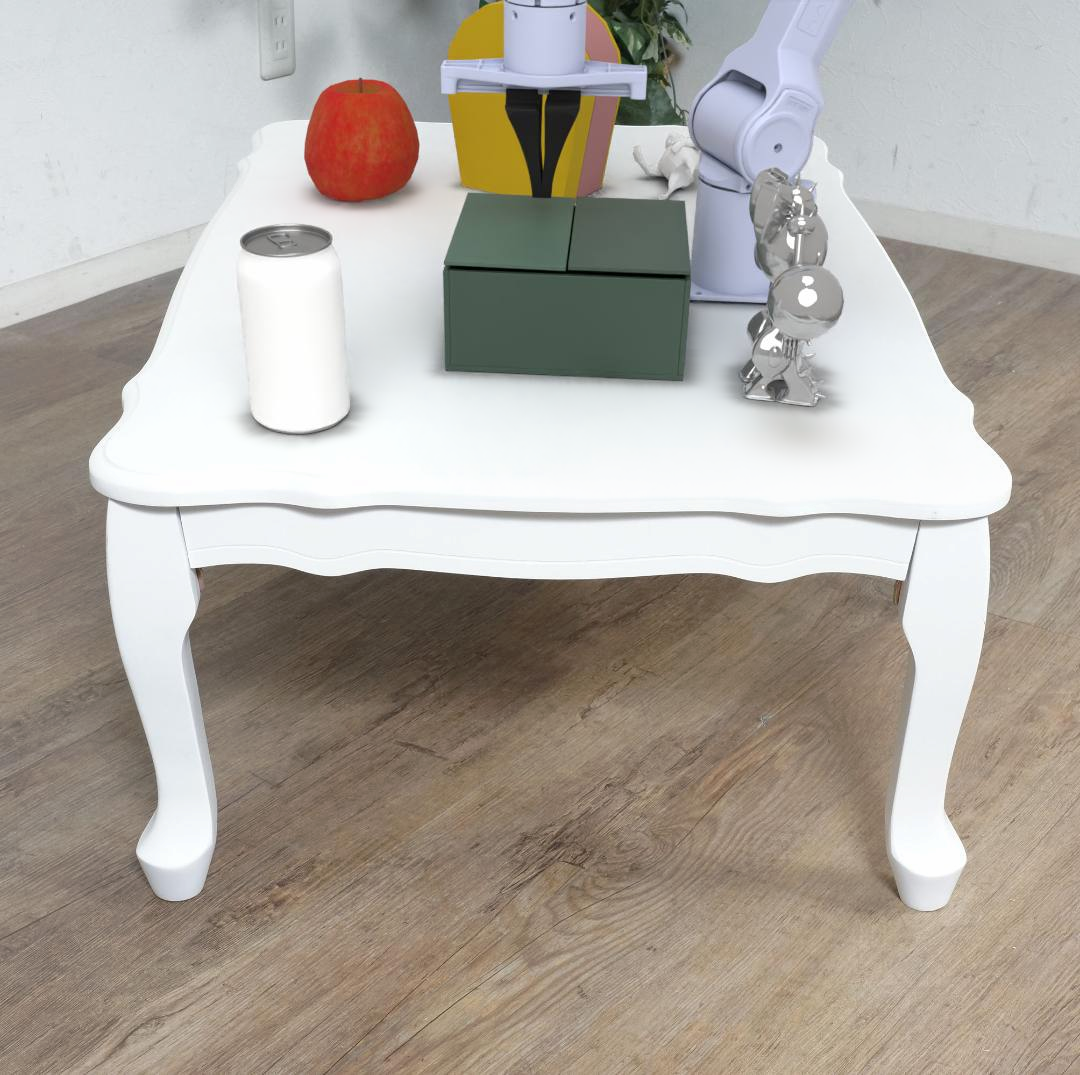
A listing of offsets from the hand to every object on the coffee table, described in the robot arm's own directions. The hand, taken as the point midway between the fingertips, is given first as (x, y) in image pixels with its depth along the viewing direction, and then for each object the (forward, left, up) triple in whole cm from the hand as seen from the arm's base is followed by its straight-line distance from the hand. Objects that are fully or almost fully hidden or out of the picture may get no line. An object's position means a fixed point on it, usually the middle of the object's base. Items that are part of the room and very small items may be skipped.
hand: (542, 193), depth 98 cm
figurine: (-10, -34, -9) cm, 36 cm away
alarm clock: (+3, -31, -9) cm, 32 cm away
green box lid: (+2, +4, -1) cm, 5 cm away
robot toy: (-17, +13, -9) cm, 24 cm away
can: (+15, +19, -9) cm, 26 cm away
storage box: (-2, +4, -9) cm, 10 cm away
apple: (+19, -27, -9) cm, 34 cm away
